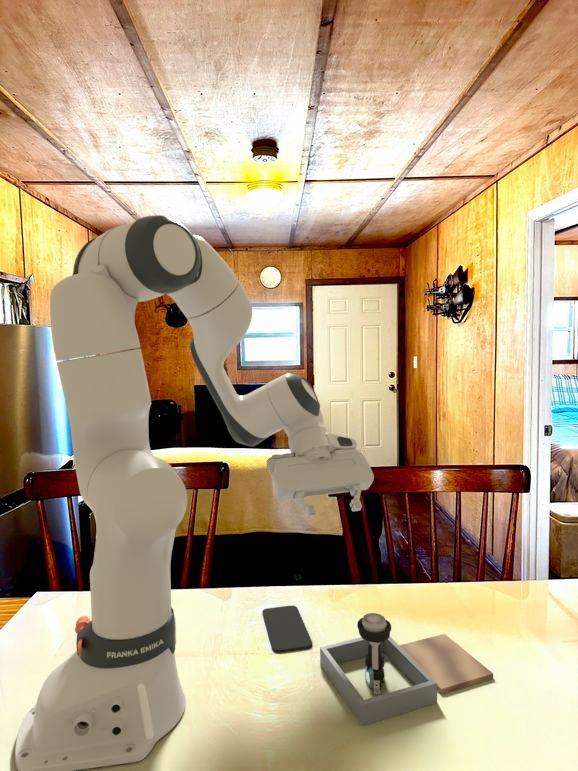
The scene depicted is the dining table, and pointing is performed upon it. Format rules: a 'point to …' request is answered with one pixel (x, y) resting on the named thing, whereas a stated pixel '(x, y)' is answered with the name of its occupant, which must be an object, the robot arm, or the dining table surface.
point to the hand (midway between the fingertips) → (334, 512)
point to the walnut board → (447, 663)
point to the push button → (374, 646)
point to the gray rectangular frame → (386, 703)
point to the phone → (286, 629)
